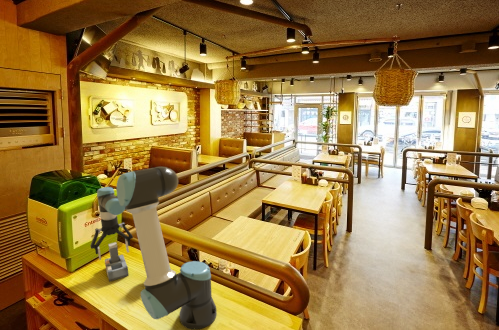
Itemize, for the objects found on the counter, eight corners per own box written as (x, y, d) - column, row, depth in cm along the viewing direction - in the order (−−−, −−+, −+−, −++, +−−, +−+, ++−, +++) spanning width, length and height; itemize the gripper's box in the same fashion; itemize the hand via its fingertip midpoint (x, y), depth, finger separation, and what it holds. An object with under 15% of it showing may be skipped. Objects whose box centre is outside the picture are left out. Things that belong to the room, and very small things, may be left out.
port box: (128, 275, 146) (127, 266, 144) (108, 281, 141) (107, 272, 140) (123, 262, 157) (122, 253, 156) (105, 267, 152) (104, 259, 151)
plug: (120, 267, 151) (117, 245, 148) (112, 269, 149) (109, 247, 146) (119, 264, 154) (116, 242, 151) (111, 266, 152) (108, 244, 149)
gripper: (133, 209, 154) (137, 245, 159) (80, 220, 141) (86, 258, 146) (136, 214, 148) (140, 251, 153) (81, 226, 135) (87, 265, 140)
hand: (114, 254), depth 150 cm, fingers open, 13 cm apart
